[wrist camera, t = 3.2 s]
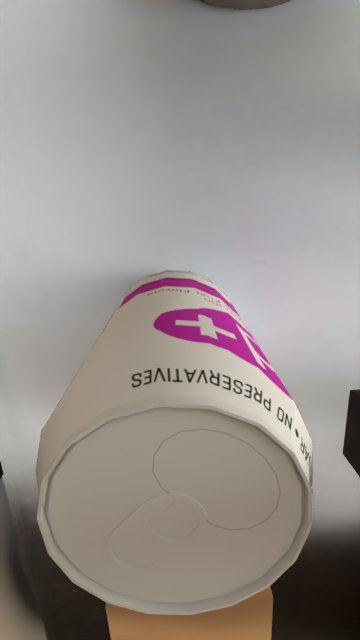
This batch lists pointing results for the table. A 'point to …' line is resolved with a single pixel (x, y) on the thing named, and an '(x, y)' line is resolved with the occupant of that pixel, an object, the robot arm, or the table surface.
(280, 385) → the supplement can
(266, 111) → the table surface
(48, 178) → the table surface
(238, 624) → the step shelf
